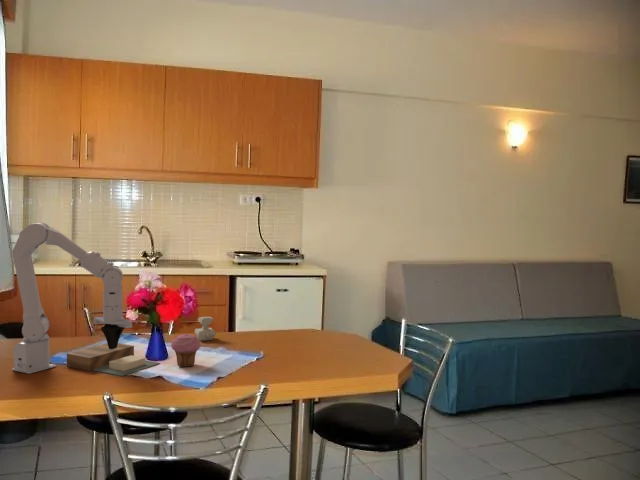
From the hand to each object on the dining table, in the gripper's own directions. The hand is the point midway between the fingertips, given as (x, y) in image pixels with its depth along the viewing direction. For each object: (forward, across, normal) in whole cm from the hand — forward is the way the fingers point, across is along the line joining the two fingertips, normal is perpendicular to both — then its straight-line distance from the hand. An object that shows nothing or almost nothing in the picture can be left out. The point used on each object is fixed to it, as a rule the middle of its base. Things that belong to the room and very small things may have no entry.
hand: (112, 348), depth 187 cm
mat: (+5, -6, 0) cm, 8 cm away
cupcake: (+5, -20, -11) cm, 23 cm away
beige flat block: (+3, -6, 0) cm, 7 cm away
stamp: (+5, -3, -42) cm, 42 cm away
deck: (+5, +5, 0) cm, 7 cm away
